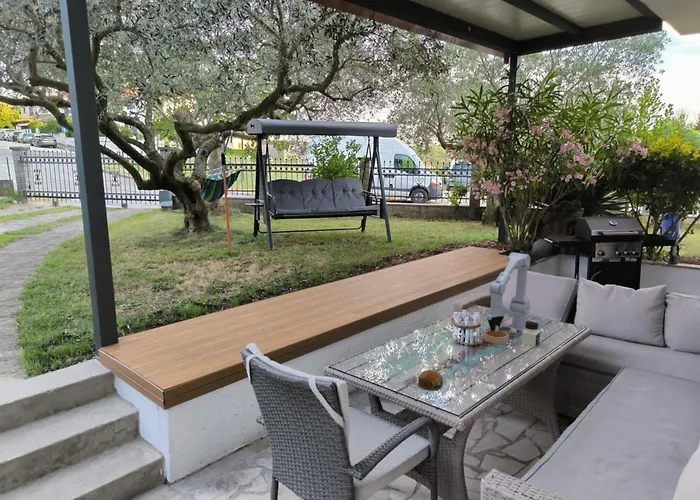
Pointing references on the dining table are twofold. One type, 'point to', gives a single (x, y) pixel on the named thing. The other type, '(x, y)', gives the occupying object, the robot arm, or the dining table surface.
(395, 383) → the dining table surface
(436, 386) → the bread roll
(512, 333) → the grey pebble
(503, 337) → the bowl
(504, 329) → the parts tray
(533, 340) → the medicine bottle
